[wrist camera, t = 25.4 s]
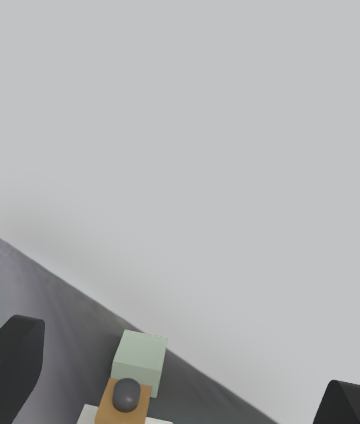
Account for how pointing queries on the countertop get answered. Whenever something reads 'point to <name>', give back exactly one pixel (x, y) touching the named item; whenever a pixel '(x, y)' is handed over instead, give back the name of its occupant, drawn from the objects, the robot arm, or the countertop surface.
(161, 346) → the sage block
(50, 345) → the countertop surface
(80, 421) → the letter
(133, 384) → the reagent bottle
